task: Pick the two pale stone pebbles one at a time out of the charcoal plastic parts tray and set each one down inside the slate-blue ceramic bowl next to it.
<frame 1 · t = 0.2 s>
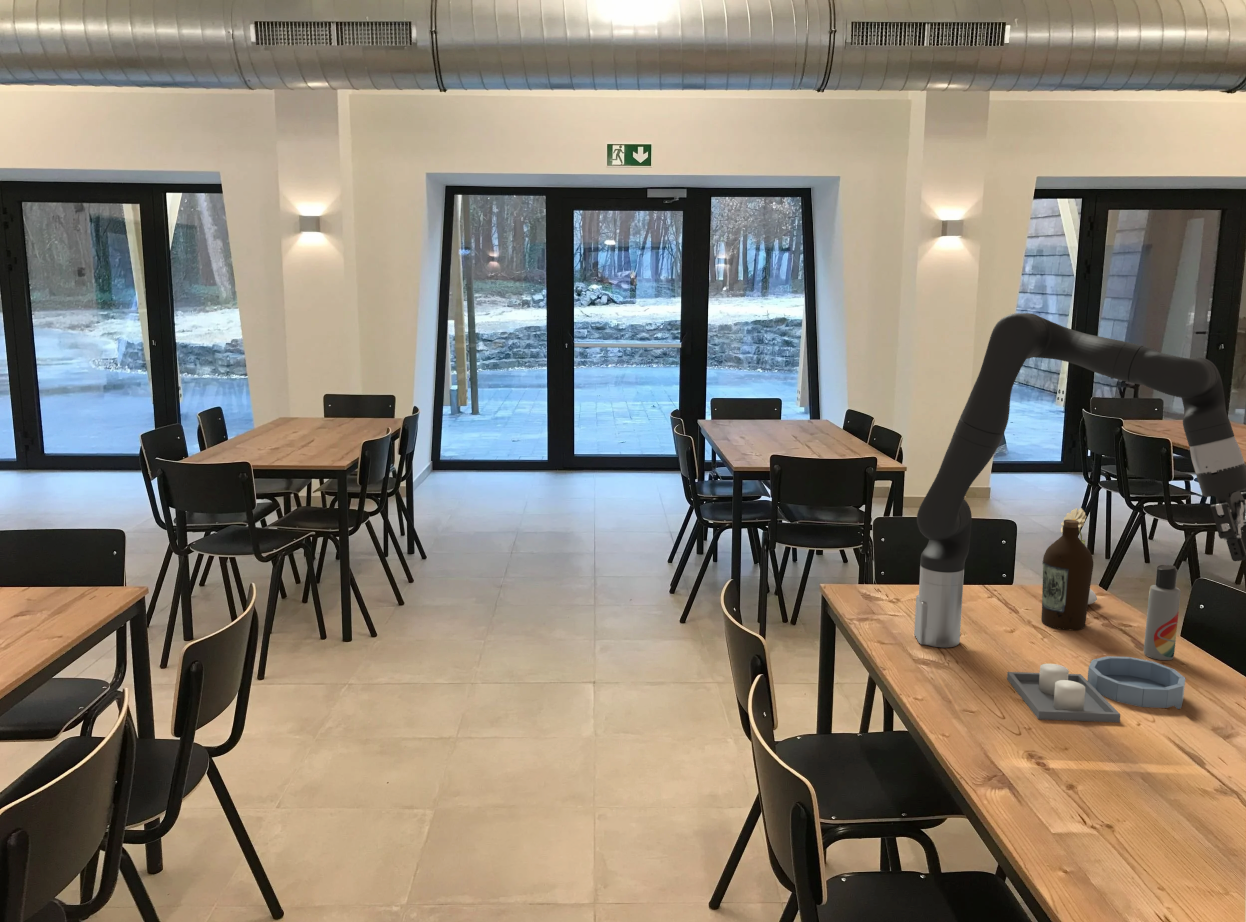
pebble 2: (1052, 690, 177), point 1 cm above the table, touching parts tray
parts tray: (1059, 704, 173), on the table
pebble 1: (1068, 708, 169), point 1 cm above the table, touching parts tray
lotion bottle: (1158, 656, 197), on the table
flower in vase: (1071, 603, 232), on the table
olive oil: (1062, 624, 217), on the table
bowl: (1134, 694, 178), on the table
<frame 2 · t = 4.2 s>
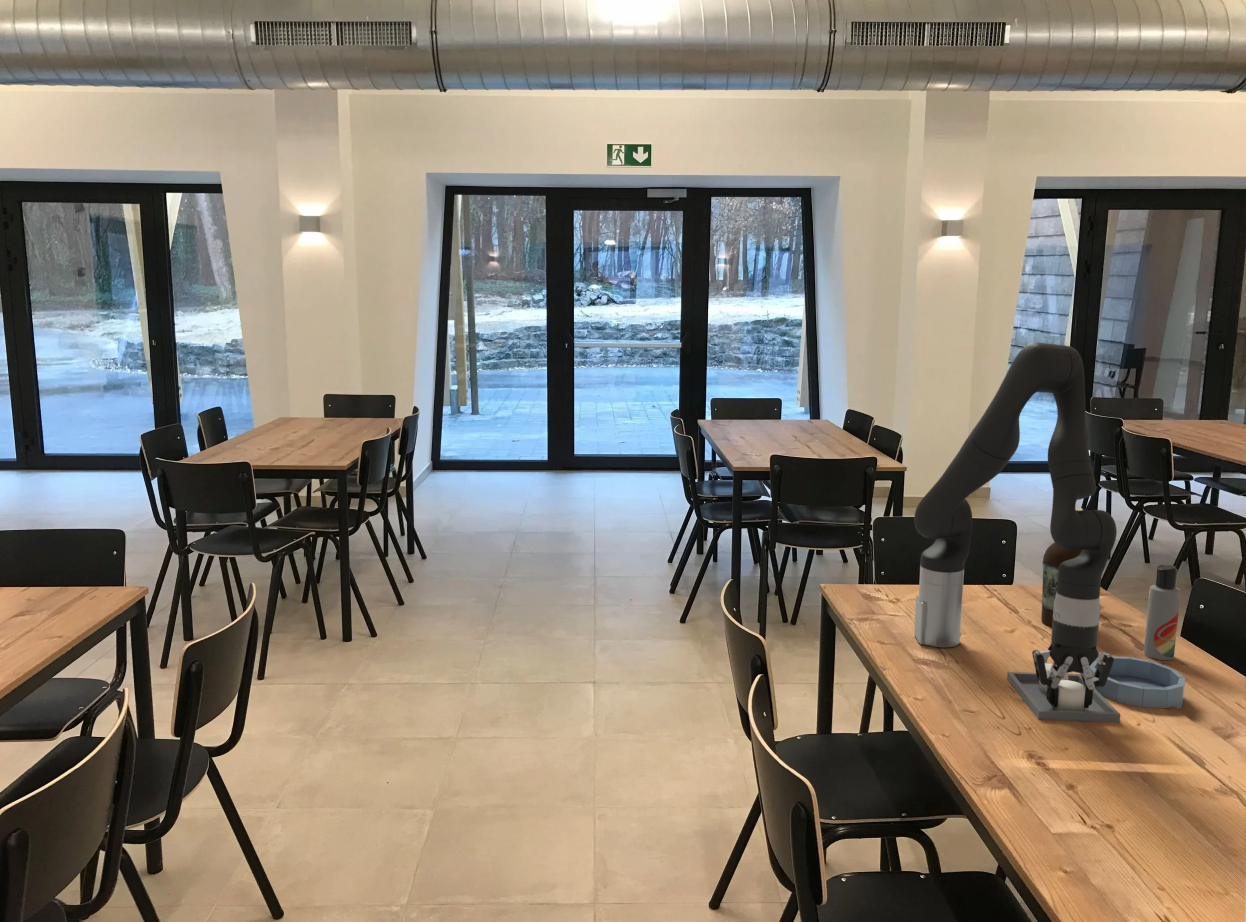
hand: (1068, 705, 169), 2 cm above the table, tool pointing down, fingers closed on pebble 1, 5 cm apart
pebble 1: (1068, 708, 169), point 1 cm above the table, touching gripper, parts tray
everything else where it was.
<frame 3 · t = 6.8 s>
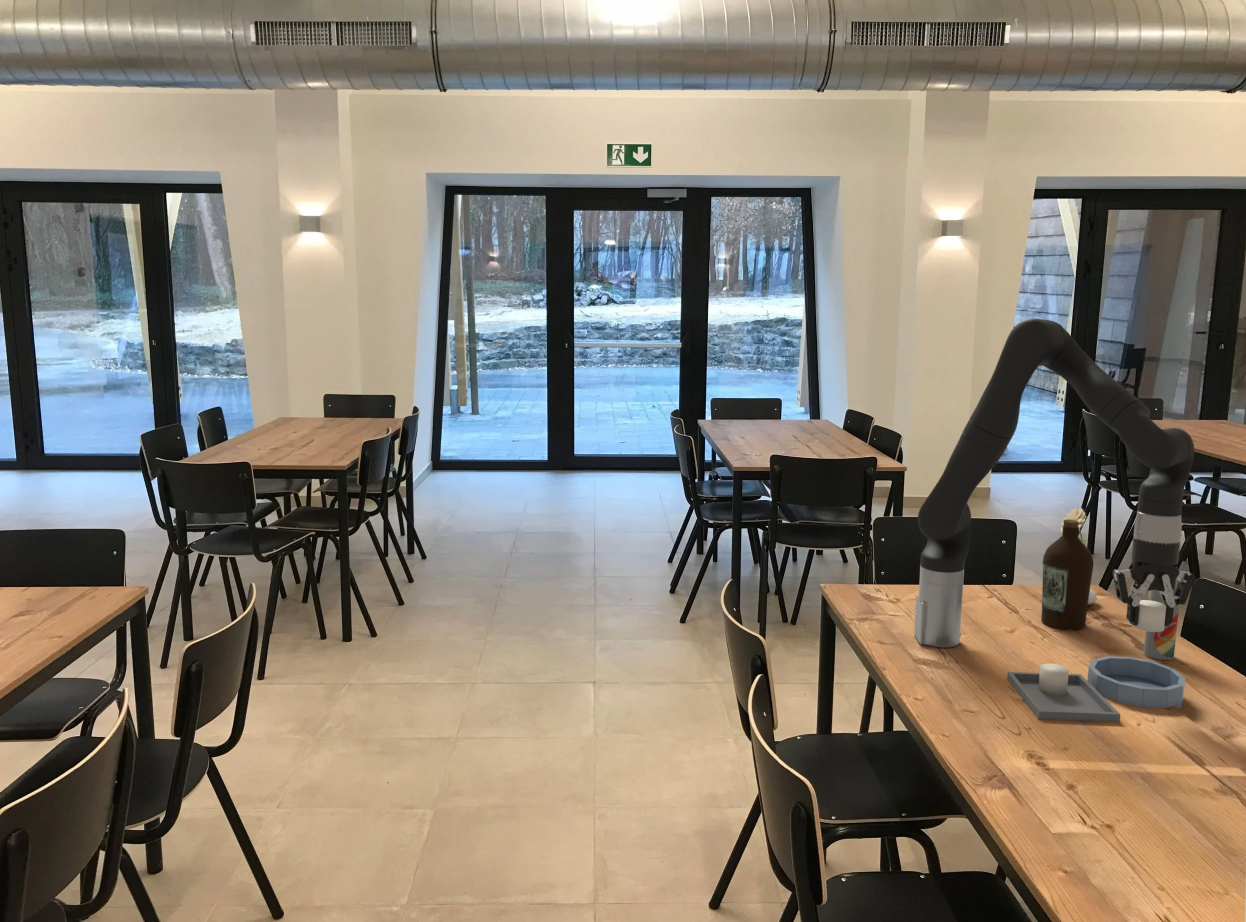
hand: (1148, 624, 172), 15 cm above the table, tool pointing down, fingers closed on pebble 1, 5 cm apart
pebble 1: (1148, 627, 172), point 15 cm above the table, touching gripper
everything else where it was.
when the fingers open (3 cm above the table, at t = 9.6 s): pebble 1 drops 2 cm, resting on bowl.
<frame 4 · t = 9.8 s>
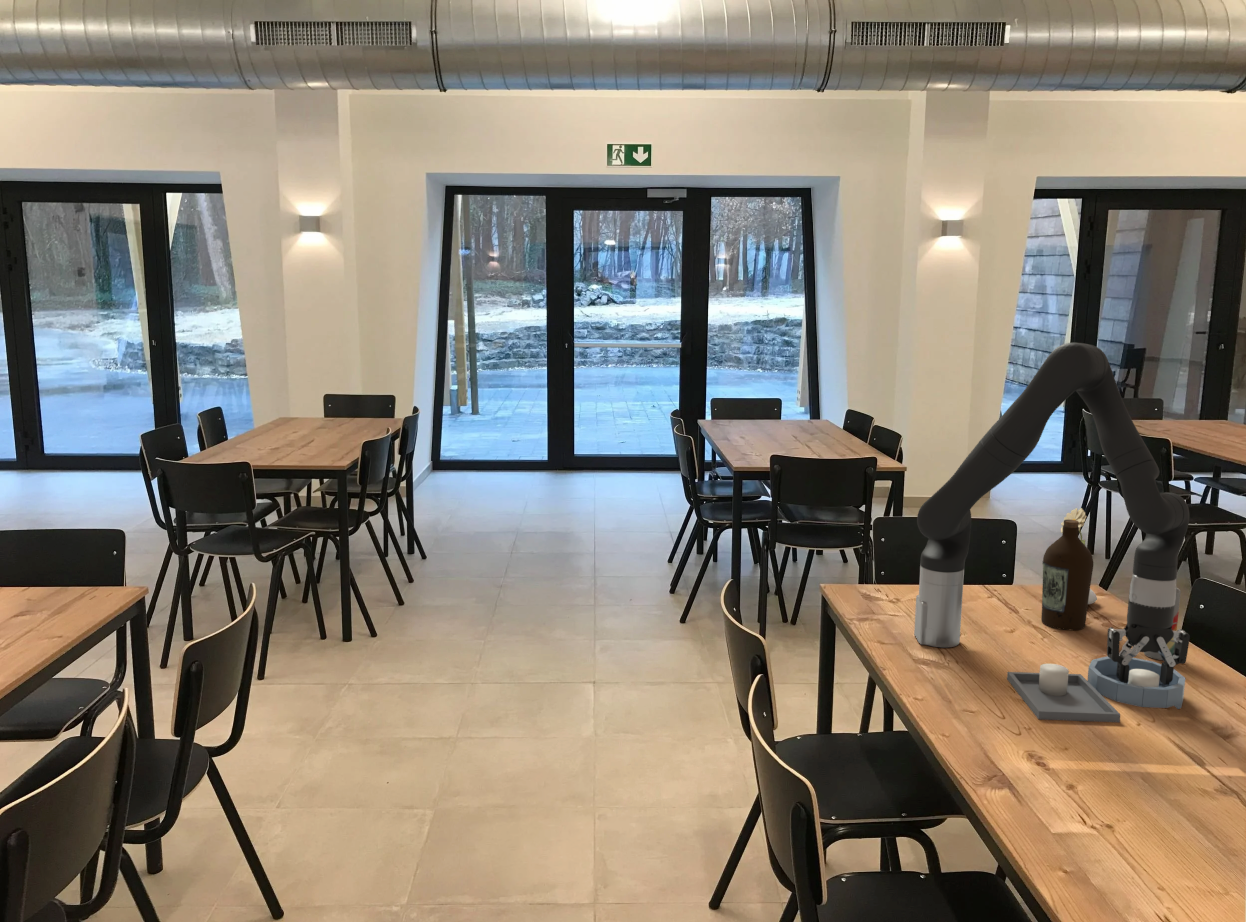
hand: (1143, 682, 174), 4 cm above the table, tool pointing down, fingers open, 7 cm apart
pebble 1: (1142, 696, 175), point 1 cm above the table, touching bowl
everything else where it was.
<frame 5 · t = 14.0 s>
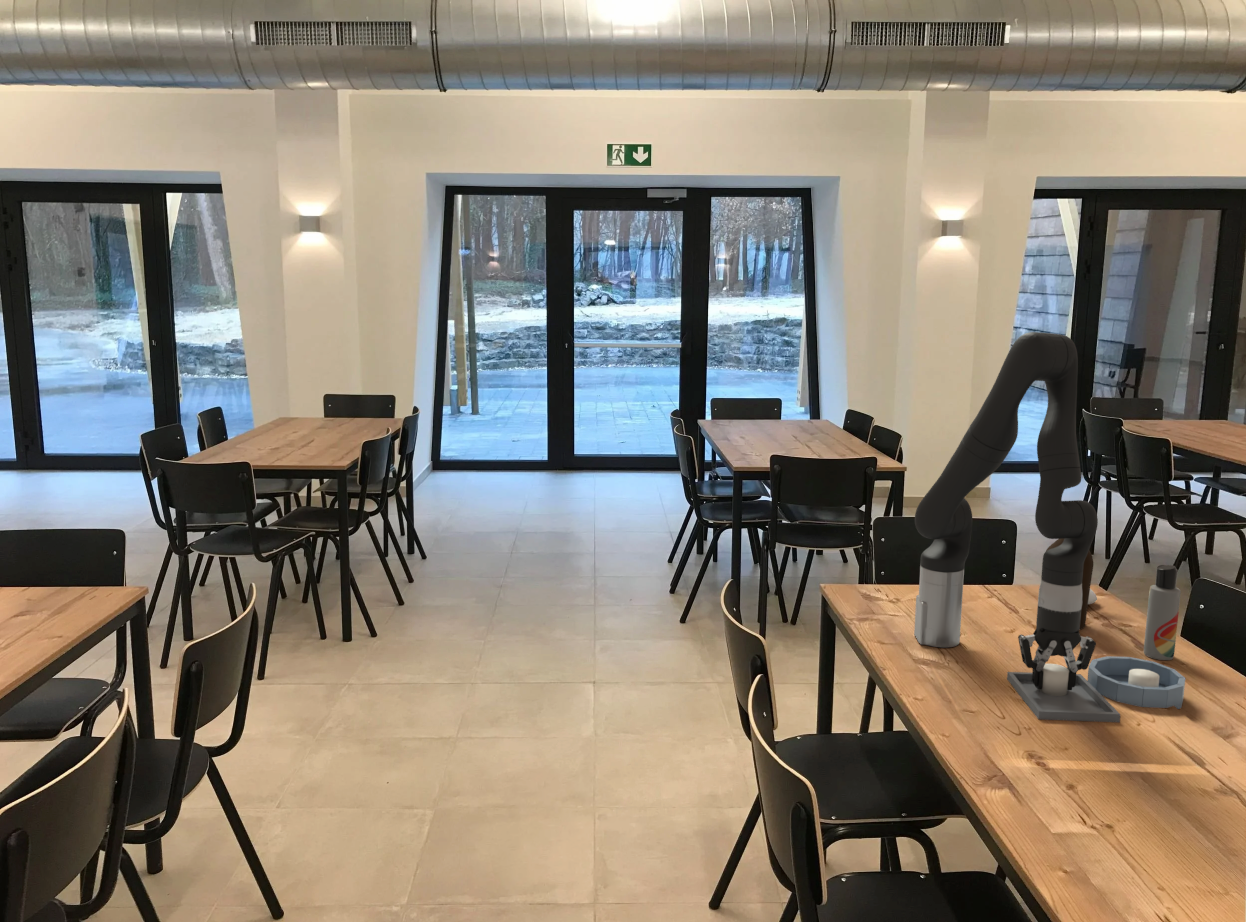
hand: (1052, 687, 177), 2 cm above the table, tool pointing down, fingers closed on pebble 2, 5 cm apart
pebble 2: (1052, 690, 177), point 1 cm above the table, touching gripper, parts tray
everything else where it was.
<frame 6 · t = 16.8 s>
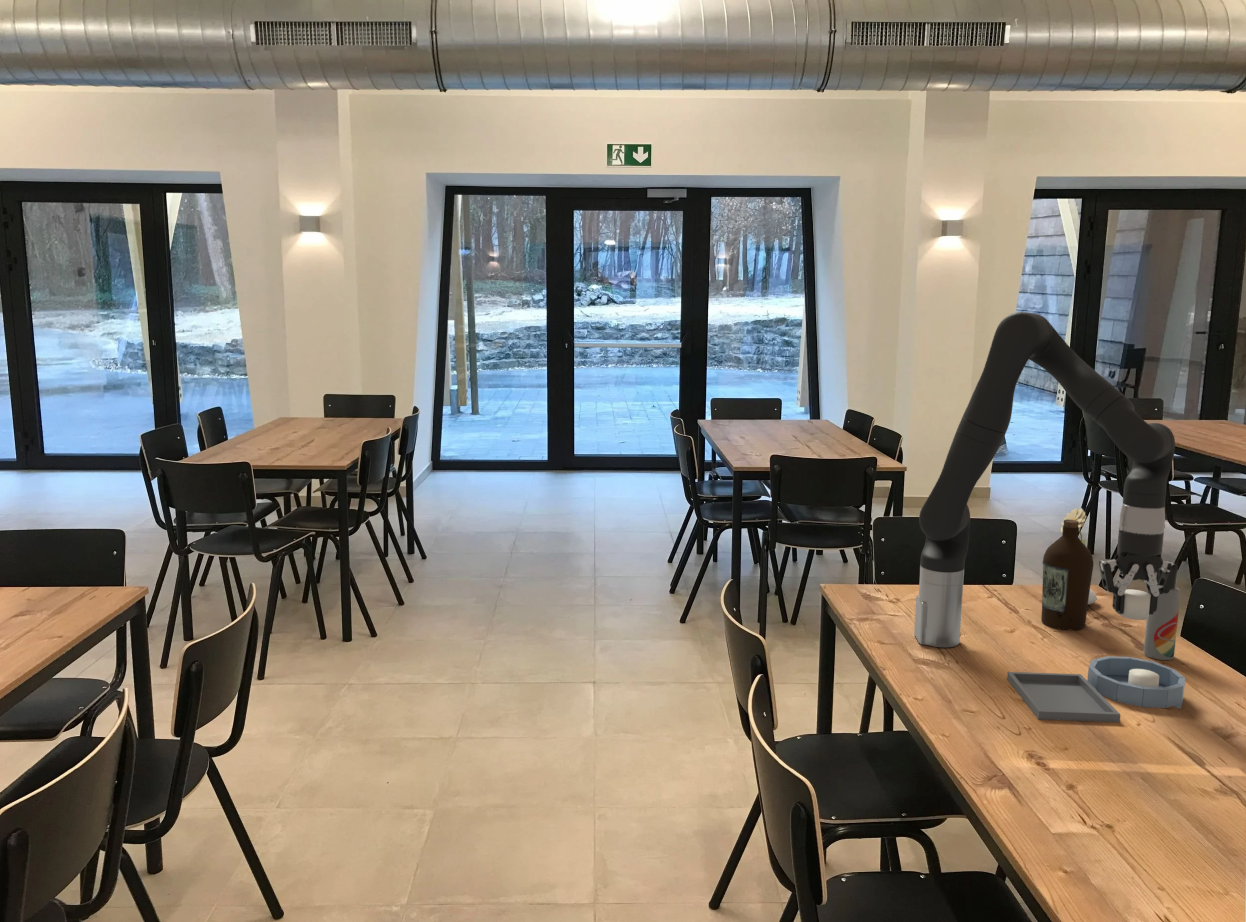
hand: (1133, 612, 178), 16 cm above the table, tool pointing down, fingers closed on pebble 2, 5 cm apart
pebble 2: (1133, 615, 178), point 15 cm above the table, touching gripper
everything else where it was.
when the fingers open (3 cm above the table, at t = 19.5 s): pebble 2 drops 2 cm, resting on bowl.
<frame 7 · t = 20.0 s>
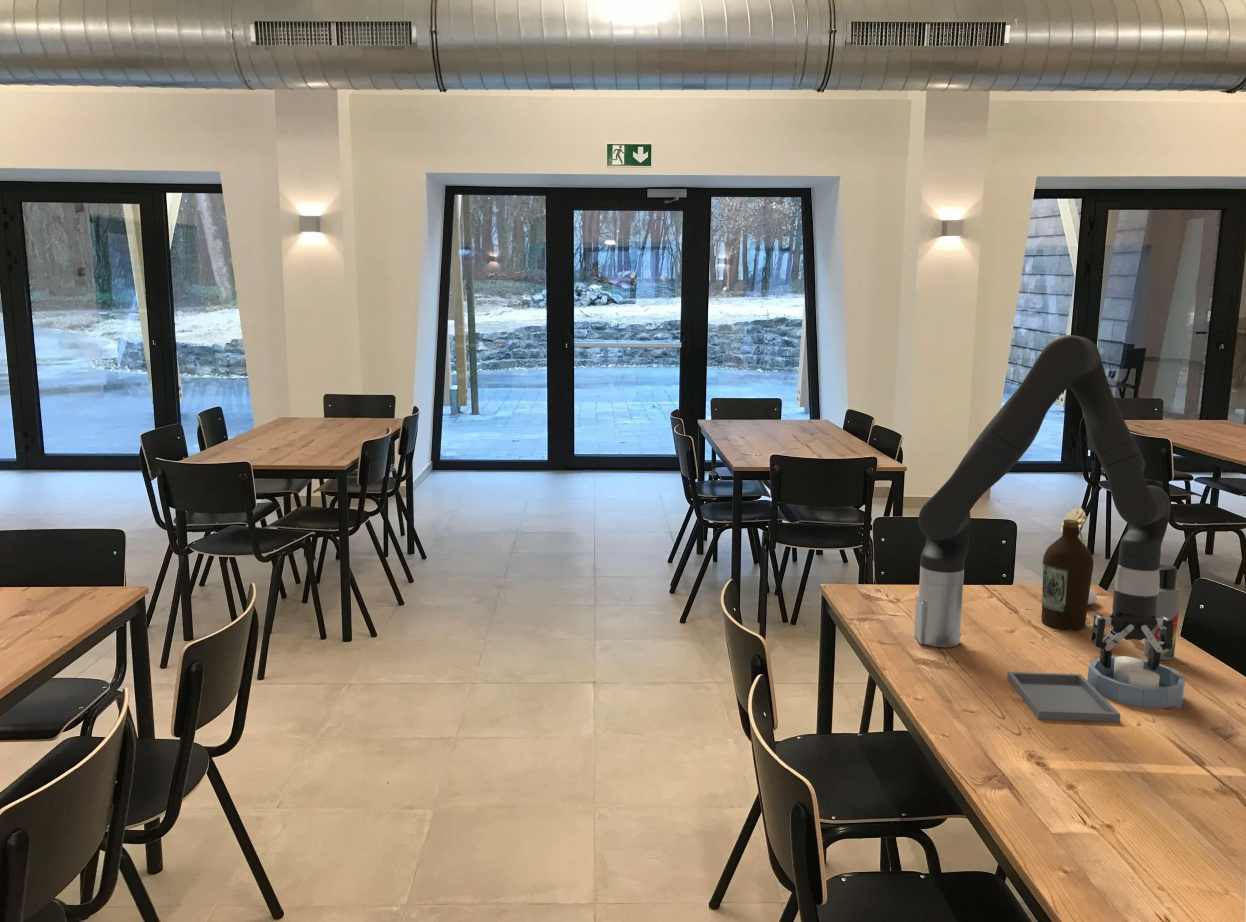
hand: (1128, 667, 180), 4 cm above the table, tool pointing down, fingers open, 8 cm apart
pebble 2: (1127, 682, 181), point 1 cm above the table, touching bowl
everything else where it was.
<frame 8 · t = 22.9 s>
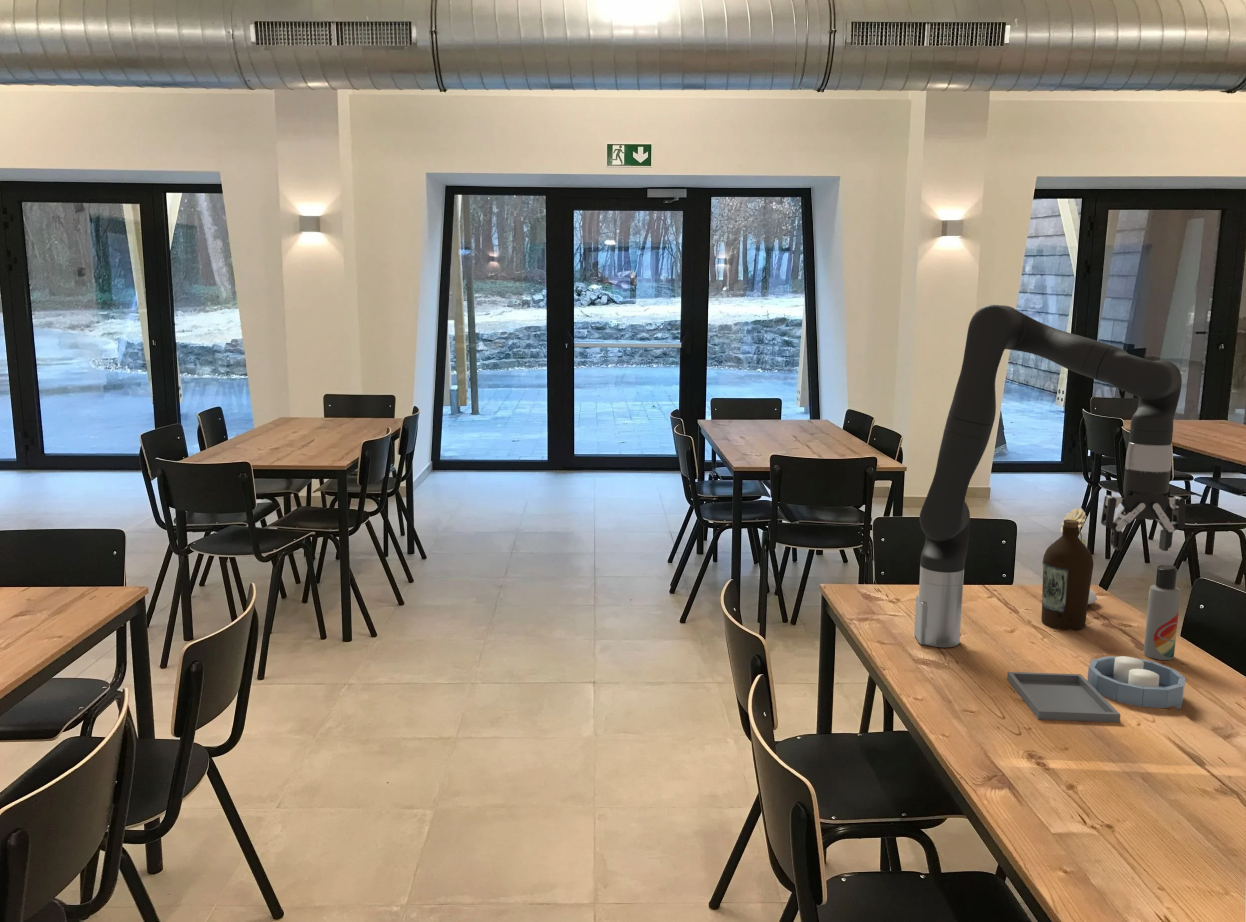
hand: (1139, 549, 176), 28 cm above the table, tool pointing down, fingers open, 8 cm apart
nothing on the table moved.
at the end: pebble 1 inside the target area on the bowl (3.2 cm from its centre), point 1.0 cm above the bowl's base; pebble 2 inside the target area on the bowl (3.2 cm from its centre), point 1.0 cm above the bowl's base; the gripper is holding nothing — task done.
